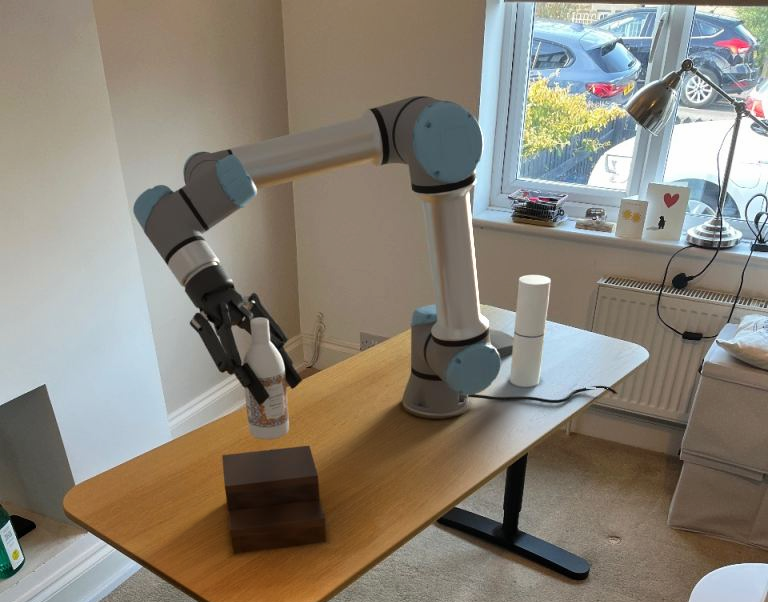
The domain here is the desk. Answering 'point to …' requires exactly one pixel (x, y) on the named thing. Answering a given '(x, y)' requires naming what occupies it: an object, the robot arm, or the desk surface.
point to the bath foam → (266, 385)
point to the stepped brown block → (273, 499)
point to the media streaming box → (501, 342)
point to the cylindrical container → (529, 329)
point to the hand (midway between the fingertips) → (281, 392)
